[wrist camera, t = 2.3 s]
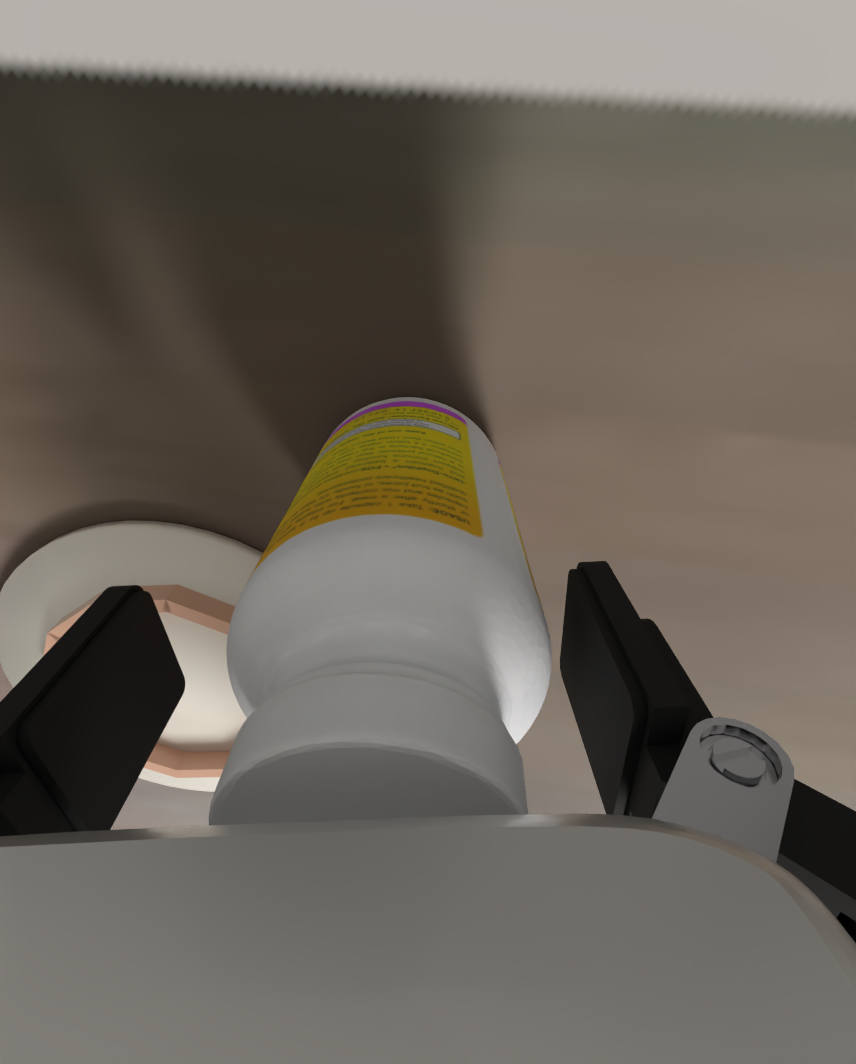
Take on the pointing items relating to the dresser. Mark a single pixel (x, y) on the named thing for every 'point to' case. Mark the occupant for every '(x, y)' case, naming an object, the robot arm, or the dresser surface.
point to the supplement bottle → (388, 634)
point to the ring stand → (183, 605)
